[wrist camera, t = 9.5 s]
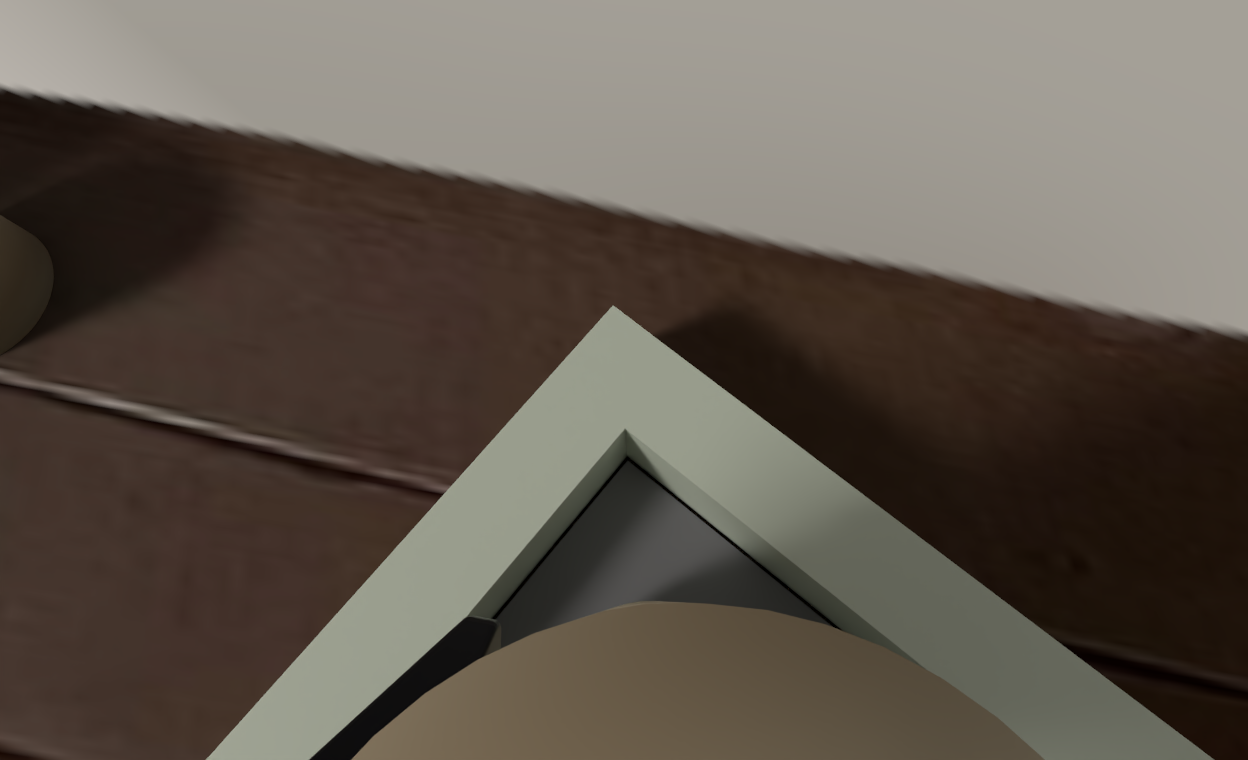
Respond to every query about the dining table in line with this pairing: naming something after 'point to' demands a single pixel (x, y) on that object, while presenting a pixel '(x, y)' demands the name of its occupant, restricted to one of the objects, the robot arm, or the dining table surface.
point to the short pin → (22, 282)
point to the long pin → (694, 696)
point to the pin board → (681, 561)
